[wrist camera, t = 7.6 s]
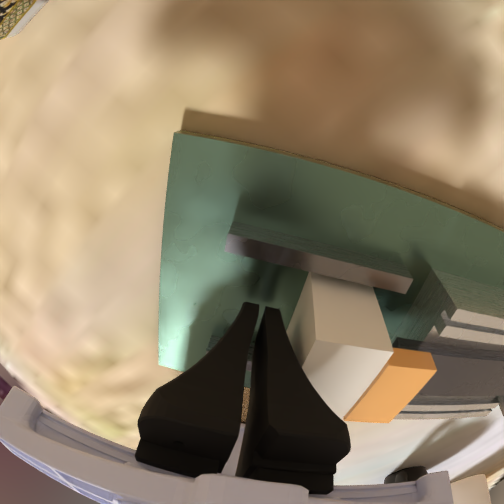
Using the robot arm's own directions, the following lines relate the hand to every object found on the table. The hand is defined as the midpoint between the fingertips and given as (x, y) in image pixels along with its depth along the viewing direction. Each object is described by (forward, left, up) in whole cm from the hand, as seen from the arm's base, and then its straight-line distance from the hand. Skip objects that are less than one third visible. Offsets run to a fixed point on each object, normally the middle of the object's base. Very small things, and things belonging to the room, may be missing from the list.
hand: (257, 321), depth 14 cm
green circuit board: (0, -9, -2) cm, 9 cm away
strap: (0, -13, +1) cm, 13 cm away
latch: (0, -4, -1) cm, 5 cm away
